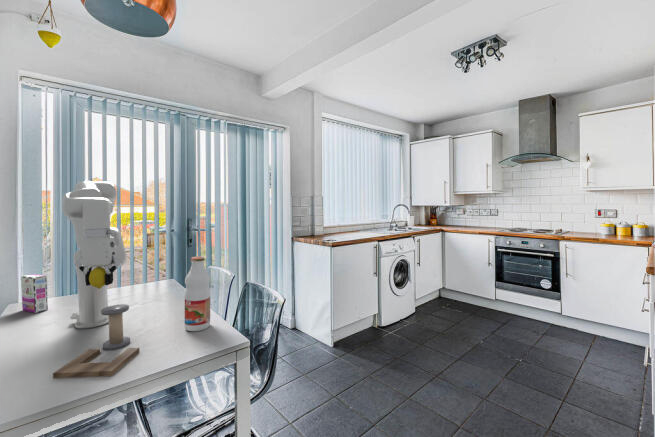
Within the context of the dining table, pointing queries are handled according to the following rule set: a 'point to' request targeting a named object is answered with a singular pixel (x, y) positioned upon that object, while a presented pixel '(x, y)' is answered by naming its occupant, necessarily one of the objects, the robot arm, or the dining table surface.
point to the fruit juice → (197, 296)
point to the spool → (115, 327)
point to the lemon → (97, 277)
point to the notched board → (94, 365)
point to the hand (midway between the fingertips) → (99, 283)
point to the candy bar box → (34, 293)
